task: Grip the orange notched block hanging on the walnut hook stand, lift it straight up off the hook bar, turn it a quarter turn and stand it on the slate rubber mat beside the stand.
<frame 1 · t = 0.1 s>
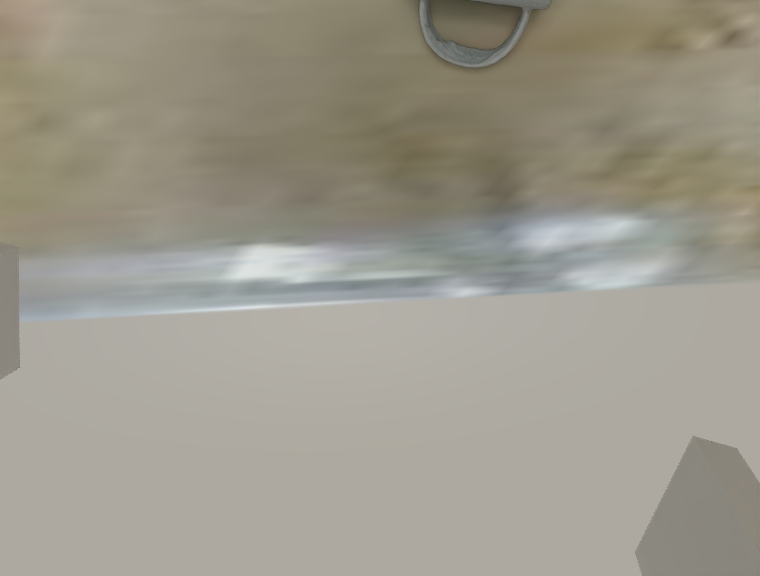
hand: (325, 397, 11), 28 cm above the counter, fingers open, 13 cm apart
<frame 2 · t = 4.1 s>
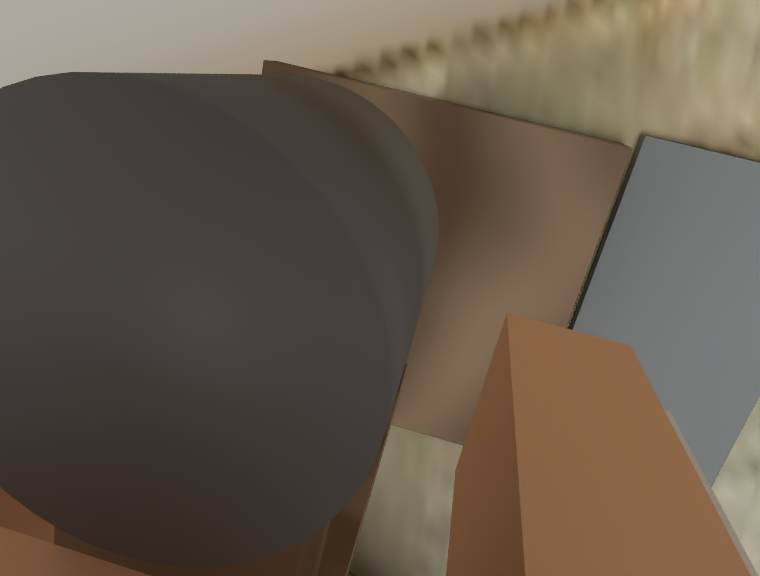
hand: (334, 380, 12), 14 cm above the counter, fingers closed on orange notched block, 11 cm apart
hook stand: (405, 265, 26), on the counter
mat: (670, 336, 25), on the counter
orange notched block: (346, 357, 13), point 13 cm above the counter, touching gripper, hook stand
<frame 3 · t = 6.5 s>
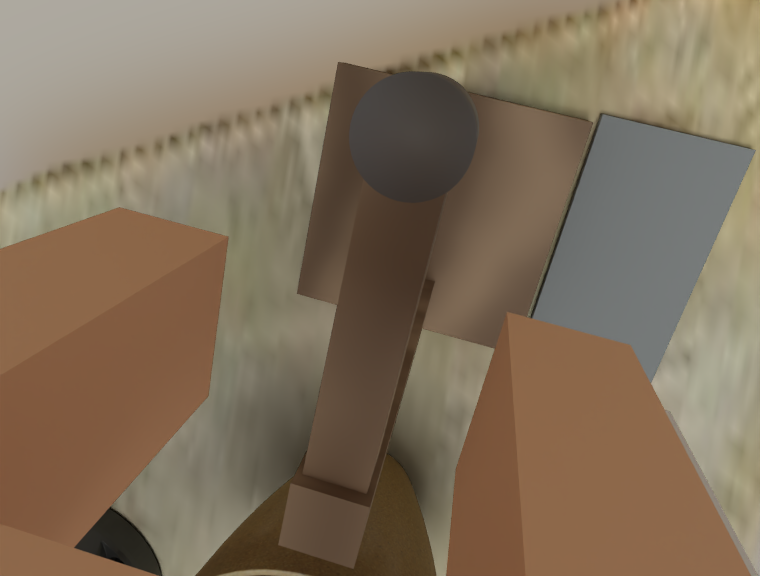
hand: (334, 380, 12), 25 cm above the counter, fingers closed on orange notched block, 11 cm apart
hook stand: (433, 210, 35), on the counter
plant pot: (363, 482, 43), on the counter
mat: (624, 260, 34), on the counter
orange notched block: (346, 357, 13), point 24 cm above the counter, touching gripper
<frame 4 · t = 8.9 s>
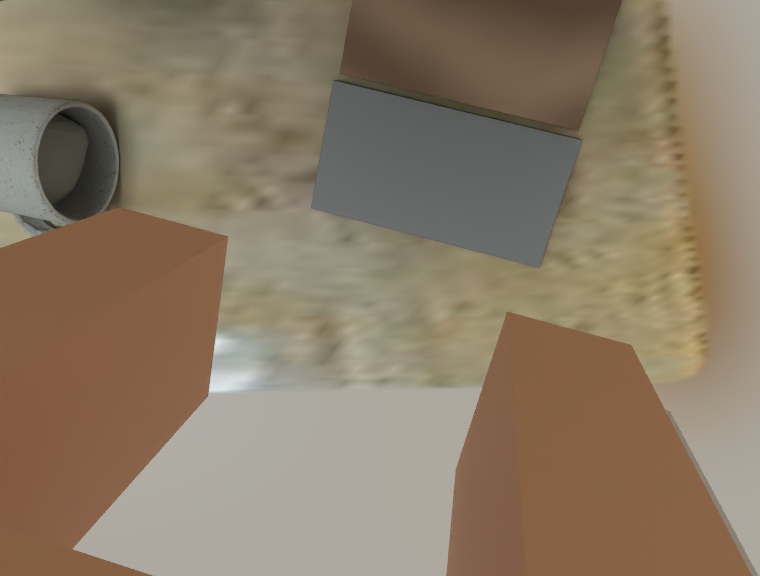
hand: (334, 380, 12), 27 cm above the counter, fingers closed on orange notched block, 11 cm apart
ceramic mug: (74, 170, 41), on the counter
mat: (439, 174, 37), on the counter
orange notched block: (346, 357, 13), point 26 cm above the counter, touching gripper
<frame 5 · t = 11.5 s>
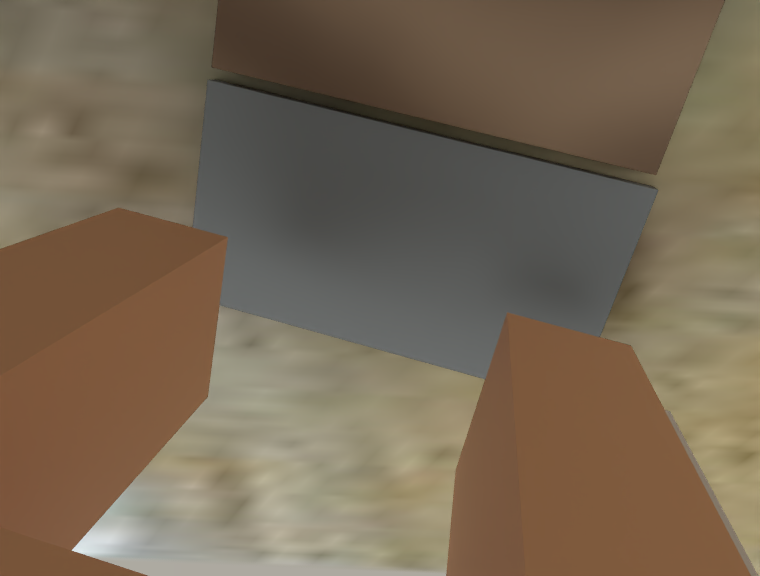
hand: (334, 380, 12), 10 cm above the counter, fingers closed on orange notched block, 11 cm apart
mat: (400, 243, 21), on the counter
orange notched block: (345, 357, 13), point 9 cm above the counter, touching gripper
when the fingers open (3 cm above the counter, at t = 13.6 s): orange notched block drops 2 cm, resting on mat.
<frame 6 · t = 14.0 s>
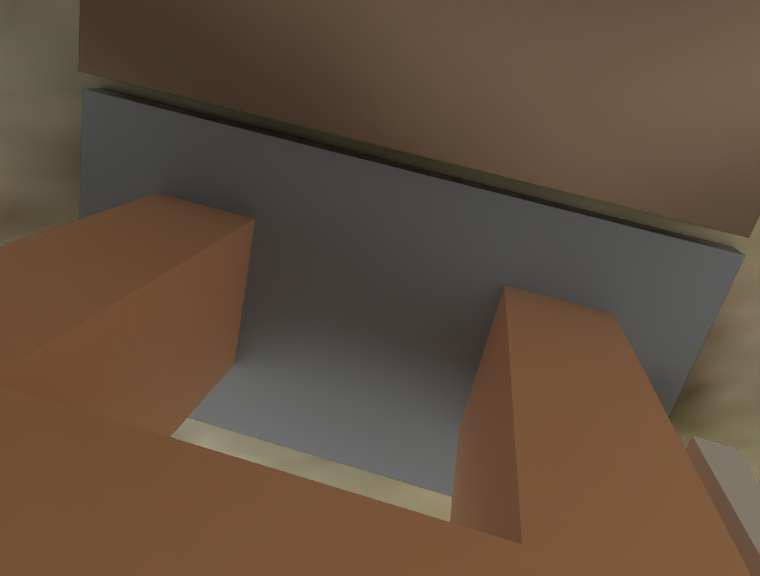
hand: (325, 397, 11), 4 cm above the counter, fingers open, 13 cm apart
mat: (365, 319, 15), on the counter
orange notched block: (360, 327, 14), point 1 cm above the counter, touching mat
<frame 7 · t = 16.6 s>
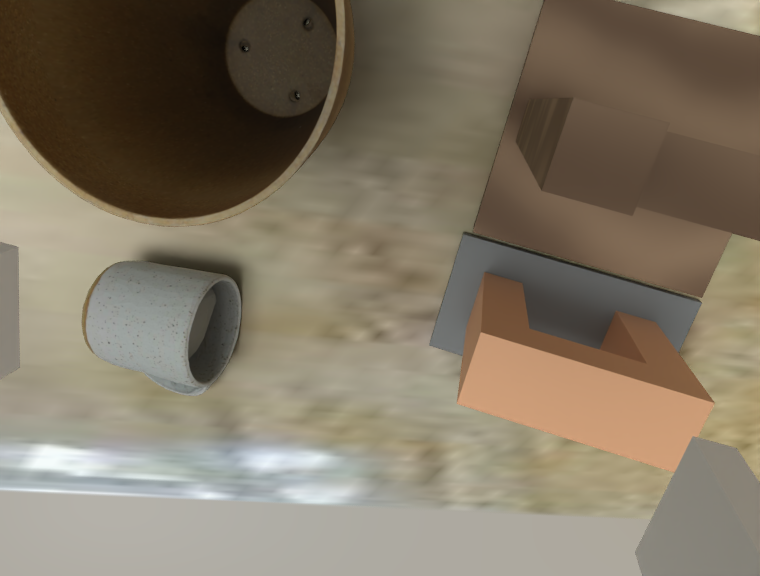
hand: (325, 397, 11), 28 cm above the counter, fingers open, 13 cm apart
ceramic mug: (195, 319, 44), on the counter
hook stand: (624, 147, 35), on the counter
plant pot: (289, 58, 37), on the counter
mat: (557, 322, 38), on the counter
orange notched block: (558, 324, 38), point 1 cm above the counter, touching mat
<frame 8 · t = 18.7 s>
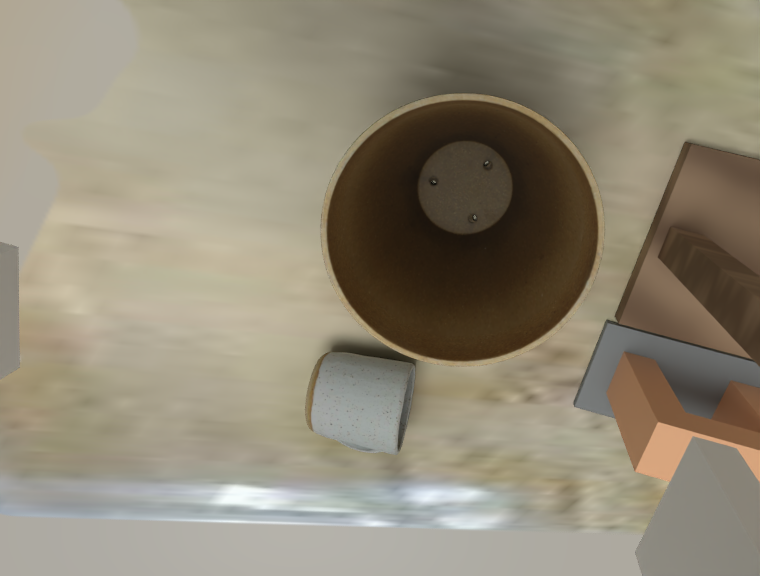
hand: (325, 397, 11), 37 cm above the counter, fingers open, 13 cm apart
ceramic mug: (372, 391, 54), on the counter
hook stand: (741, 257, 44), on the counter
plant pot: (467, 188, 46), on the counter
mat: (680, 387, 48), on the counter
orange notched block: (682, 391, 48), point 1 cm above the counter, touching mat
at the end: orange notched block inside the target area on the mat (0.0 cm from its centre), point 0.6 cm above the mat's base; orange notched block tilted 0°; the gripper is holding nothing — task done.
